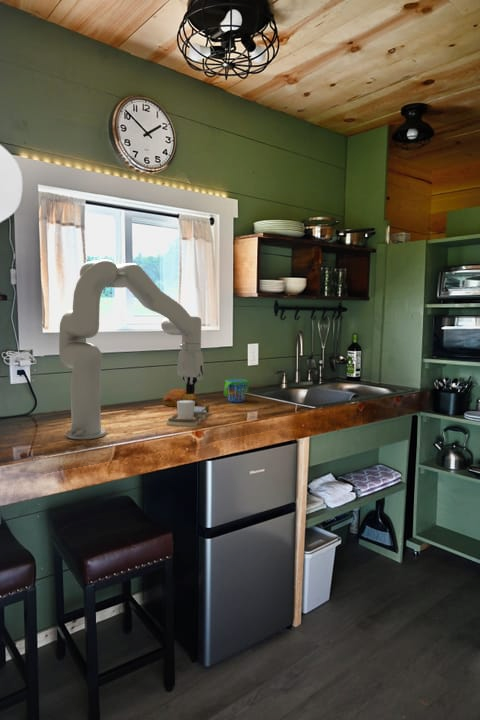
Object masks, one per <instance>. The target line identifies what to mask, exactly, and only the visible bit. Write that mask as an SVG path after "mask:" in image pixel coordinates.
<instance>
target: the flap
mask: <svg viewBox="0 0 480 720" xmlns="http://www.w3.org/2000/svg"><path fill="white" fill-rule="evenodd" d="M203 411H206V406H197V405H195V406H194V413H197V414H201V413H202V412H203Z"/></svg>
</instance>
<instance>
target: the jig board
mask: <svg viewBox="0 0 480 720" xmlns="http://www.w3.org/2000/svg"><path fill="white" fill-rule="evenodd" d="M205 407H206V410H204V411H203V412H202V413H201V414H197V413H194V416H193V420H190V419H178V412H176V413H175V414H173V415H172V416H170V417H169V418H168V420H167V421H166V425H167V426H180V427H181V426H182V427H183V426H184V427H197V425H199V424H200V423H201V422H203V420H205V418H207V417H208V416H210V405H209V404H207V405H205ZM198 423H199V424H198Z"/></svg>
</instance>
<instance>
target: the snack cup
mask: <svg viewBox="0 0 480 720" xmlns="http://www.w3.org/2000/svg"><path fill="white" fill-rule="evenodd" d="M224 383H225V384H224V387H223V388H224V389H223V396H225V397H227V400H228V402H229V403H243V402H244V401H245V398H246V397H245V396H246V393H247V394H248V392H249V384H248V383H249V381H248V380H247V379H243V378H230V379H229V378H228V379H225V380H224Z"/></svg>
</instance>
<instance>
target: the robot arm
mask: <svg viewBox="0 0 480 720" xmlns="http://www.w3.org/2000/svg"><path fill="white" fill-rule="evenodd" d="M105 288H120V289H121V288H127V290H129V291H130V293H131V294H132V295H133V296H134V297H135V298H136V299H137V300H138V302H139V303H140V304H141V305H142V306H143V307H144V308H146V309H147V310H149V311H152V312H154V313H157V314H160V315H161V316H163V317H164V318H163V319H162V320H161V325H160V326H161V329H162V332H164V333H166V334H168V335H169V336H170V335H171V336H181V344H179V347H180V349H181V350H180V351H179V354H178V358H177V367H176V368H177V369H176V373H177V375H178V378H179V379H182V380H183V381H184V384H185V385H186V386H185V390H186V394H195V388H196V387H195V386H196V385H195V384H197V382H198V381H202V380H203V379H204V377H203V376H204V368H205V367H204V357H203V352H202V349H201V348H202V343H201V342H202V319H201V317H199V316H191V314H189V312H188V311H187V310H186V309H185V308H184V307H183V306H182V304H180V303H179V302H177V301H176V300H175V299H174V298H172V297H170V296H169V295H167V293H164V292H163V290H161V289H160V288H159V287H158V286H157V284H156V283H155V282H154V280H152V278H151V277H150V276H149V275H148V274H147V272H146V271H145V270H144V269H143V268H142V267H141V266H140V265H139V264H138V263H135V262H128V263H121V264H120V263H117V264H116V263H115V262H113V261H112V260H109V259H99V260H98V259H97V260H92V261H87V262H85V263H84V264H82V265H81V266H80V269H79V278H78V279H77V282H76V283H75V287H74V290H73V300H72V309H71V310H68V311H66V312H65V313H64V314H63V316H62V317H61V319H60V323H59V341H58V348H59V350H58V355H59V359H60V361H61V363H62V364H63V365H64V367H65V366H66V367H67V368H69V369H72V371H71V376H70V409H71V411H70V413H71V414H70V415H71V417H70V420H71V424H70V425H71V428H70V429H68V430H66V433H65V434H66V437H67V438H69V439H71V440H81V441H83V440H92V439H93V440H95V439H99V438H101V437H104V436H105V435H106V432H107V431H106V429H104V428H102V426H101V424H102V423H101V421H102V417H101V415H102V414H101V409H102V407H101V372H102V366H103V353H102V351H101V350H100V349H99V347H98V346H97V345H95V344H93V343H90V342H87V339H91V338H94V337H95V336H96V335H97V334H98V332H99V330H100V303H101V296H102V293H103V291H104V289H105Z"/></svg>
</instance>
